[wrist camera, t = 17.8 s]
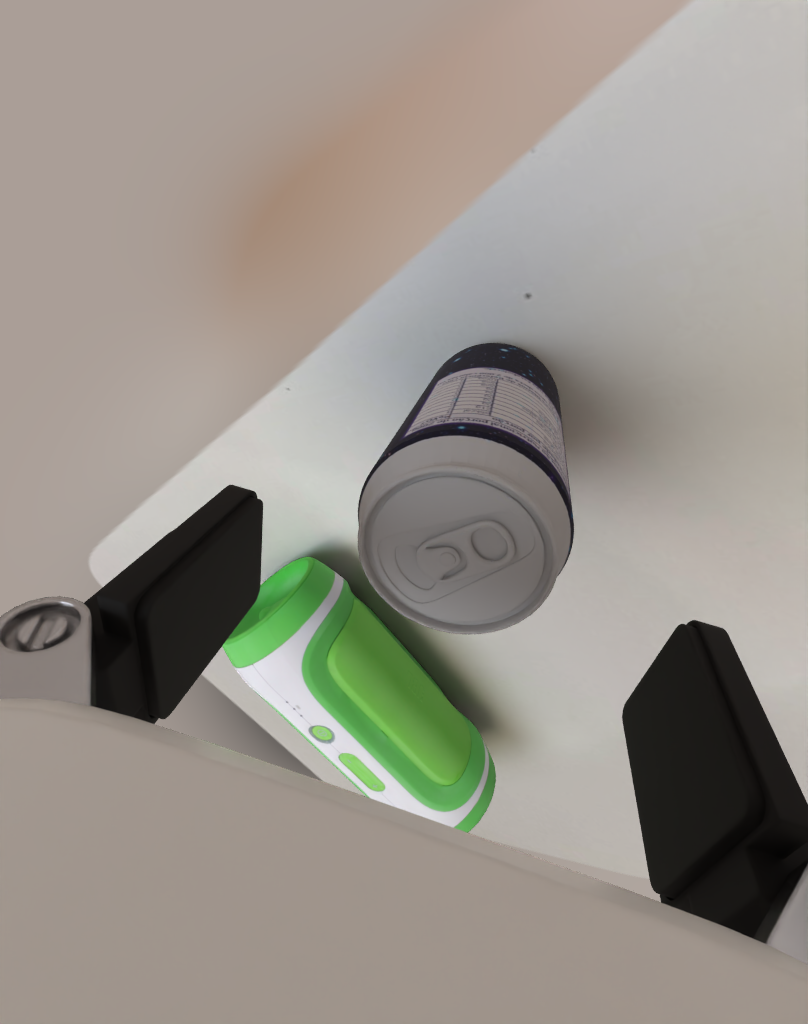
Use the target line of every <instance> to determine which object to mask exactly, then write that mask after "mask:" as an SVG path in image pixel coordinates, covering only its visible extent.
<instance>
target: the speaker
mask: <svg viewBox="0 0 808 1024" xmlns="http://www.w3.org/2000/svg"><path fill="white" fill-rule="evenodd" d="M222 646H223V648H224V650H225V652H226V654H227V656H228V657H229V659H230V661H231V663H232V664H233V666H234V668H235V669H236V671H237V672H238V674H239V675H240V676H241V678H242V679H243V680H244V681H245V682H246V683H247V684H248V685H249V686H250V687H251V688H252V689H253V690H254V691H255V692H256V693H257V694H258V695H259V696H260V697H262V698H263V699H264V700H265V701H266V702H267V703H268V704H269V705H270V706H271V707H272V708H274V709H275V710H276V711H277V712H278V713H279V714H280V715H281V716H282V717H283V718H284V719H285V720H286V721H287V722H288V723H290V724H291V725H292V726H293V727H294V728H295V729H296V730H297V731H298V732H299V733H300V734H301V735H302V736H303V737H304V738H305V739H306V740H307V741H308V742H309V743H311V744H312V745H313V746H314V747H315V748H316V749H317V750H318V751H319V752H320V753H321V754H322V755H323V756H324V757H325V758H327V759H328V760H329V761H330V762H331V763H332V764H333V765H334V766H335V767H336V768H337V769H338V770H339V771H340V772H341V773H342V774H343V775H344V776H345V777H346V778H348V779H349V780H350V781H351V782H352V783H353V784H354V785H355V786H356V787H357V788H358V789H359V790H360V791H361V792H362V793H364V794H365V795H366V796H367V797H368V798H371V799H374V800H376V801H379V802H382V803H385V804H388V805H391V806H394V807H396V808H399V809H402V810H405V811H408V812H411V813H413V814H416V815H419V816H422V817H425V818H428V819H430V820H433V821H436V822H439V823H442V824H444V825H447V826H450V827H453V828H456V829H459V830H461V831H464V832H467V833H468V832H469V831H470V830H471V829H472V828H473V827H474V826H475V825H476V824H477V823H478V822H479V821H480V819H481V818H482V816H483V815H484V813H485V812H486V810H487V808H488V806H489V804H490V802H491V799H492V796H493V793H494V788H495V782H496V774H495V767H494V763H493V761H492V758H491V756H490V753H489V751H488V749H487V747H486V745H485V743H484V741H483V739H482V737H481V735H480V733H479V732H478V730H477V729H476V727H475V726H474V725H473V724H472V723H471V722H470V721H469V720H468V719H467V718H466V717H465V716H464V715H463V714H461V713H460V712H459V711H458V710H457V709H455V708H454V706H453V705H452V704H451V703H450V702H449V701H448V700H447V698H446V697H445V695H444V694H443V692H442V691H441V689H440V688H439V687H438V685H437V684H436V683H435V681H434V680H433V679H432V678H431V677H430V676H429V675H428V673H427V672H426V671H425V670H424V669H423V668H422V667H421V665H420V664H419V663H418V662H417V661H416V660H415V659H414V657H413V656H412V655H411V654H410V653H409V652H408V651H407V649H406V648H405V647H404V646H403V645H402V644H401V643H400V642H399V640H398V639H397V638H396V637H395V636H394V635H393V634H392V633H391V631H390V630H389V629H388V628H387V627H386V626H385V625H384V624H383V622H382V621H381V620H380V619H379V618H378V617H377V616H376V615H375V613H374V612H373V611H372V610H371V609H370V608H369V607H367V606H366V605H365V604H364V603H363V602H362V601H360V600H359V599H358V598H357V597H356V596H355V595H354V594H353V593H352V592H351V590H350V587H349V585H348V582H347V581H346V580H345V579H343V578H342V577H341V576H340V575H338V574H337V573H336V572H335V571H333V570H332V569H330V568H329V567H327V566H326V565H324V564H323V563H321V562H320V561H318V560H316V559H315V558H312V557H303V558H300V559H297V560H295V561H293V562H291V563H289V564H288V565H286V566H285V567H283V568H282V569H280V570H279V571H278V572H276V573H275V574H274V575H272V576H271V577H270V578H269V579H267V580H266V581H265V582H264V583H263V584H262V585H260V592H259V595H258V598H257V600H256V602H255V603H254V605H253V606H252V607H251V609H250V610H249V611H248V613H247V614H246V615H245V616H244V618H243V619H242V620H241V622H240V623H239V624H238V626H237V627H236V628H235V630H234V631H233V632H232V634H231V635H230V636H229V638H228V639H227V640H226V642H225V643H224V644H223V645H222Z"/></svg>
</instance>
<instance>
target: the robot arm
mask: <svg viewBox="0 0 808 1024" xmlns="http://www.w3.org/2000/svg"><path fill="white" fill-rule="evenodd" d="M262 520H263V502H262V501H261V500H260V499H257V495H256V493H255V492H254V491H251V490H248V489H245V488H241V487H238V486H234V485H229V486H227V487H226V488H224V489H223V490H222V491H221V492H220V493H218V494H217V495H216V496H215V497H214V498H212V499H211V500H210V501H209V502H208V503H206V504H205V505H204V506H203V507H201V508H200V509H199V510H198V511H197V512H195V513H194V514H193V515H192V516H191V517H189V518H188V519H187V520H186V521H185V522H183V523H182V524H181V525H180V526H178V527H177V528H176V529H175V530H173V531H171V532H170V533H168V534H167V535H166V536H165V537H163V538H162V539H161V540H160V541H159V542H157V543H156V544H155V545H154V546H153V547H151V548H150V549H149V550H148V551H146V552H145V553H144V554H143V555H142V556H140V557H139V558H138V559H137V560H136V561H134V562H133V563H132V564H131V565H129V566H128V567H127V568H126V569H125V570H123V571H122V572H121V573H120V574H119V575H117V576H116V577H115V578H114V579H112V580H111V581H110V582H109V583H108V584H106V585H105V586H104V587H103V588H102V589H100V590H99V591H98V592H97V593H96V594H95V595H93V596H92V597H91V598H90V599H88V600H87V601H86V602H85V603H83V602H81V601H78V600H76V599H74V598H68V597H60V596H59V597H45V598H40V599H36V600H32V601H28V602H26V603H24V604H21V605H19V606H16V607H14V608H13V609H11V610H10V611H8V612H6V613H5V614H3V615H2V616H1V617H0V1024H808V804H807V802H806V800H805V797H804V795H803V793H802V791H801V789H800V787H799V785H798V783H797V780H796V778H795V776H794V774H793V772H792V770H791V768H790V765H789V763H788V761H787V759H786V757H785V755H784V753H783V751H782V748H781V746H780V744H779V742H778V740H777V738H776V736H775V733H774V731H773V729H772V727H771V725H770V723H769V721H768V719H767V716H766V714H765V712H764V710H763V708H762V706H761V704H760V701H759V699H758V697H757V695H756V693H755V691H754V689H753V687H752V684H751V682H750V680H749V678H748V676H747V674H746V672H745V669H744V667H743V665H742V663H741V661H740V659H739V657H738V655H737V652H736V650H735V648H734V646H733V644H732V642H731V640H730V637H729V635H728V633H727V632H726V631H725V630H724V629H723V628H720V627H717V626H713V625H710V624H706V623H703V622H699V621H696V620H692V621H690V622H689V623H688V624H687V625H685V624H680V625H679V626H678V627H677V628H676V629H675V631H674V632H673V634H672V635H671V637H670V638H669V639H668V641H667V642H666V644H665V645H664V647H663V648H662V650H661V651H660V653H659V654H658V656H657V657H656V659H655V660H654V662H653V663H652V665H651V666H650V668H649V669H648V671H647V672H646V674H645V675H644V676H643V678H642V679H641V681H640V682H639V684H638V685H637V687H636V688H635V690H634V691H633V693H632V694H631V696H630V697H629V699H628V700H627V702H626V703H625V706H624V709H623V715H622V719H623V726H624V732H625V738H626V744H627V749H628V755H629V761H630V767H631V773H632V778H633V784H634V790H635V796H636V802H637V808H638V813H639V819H640V825H641V831H642V837H643V842H644V848H645V854H646V860H647V866H648V872H649V877H650V882H651V886H652V888H653V890H654V891H655V892H656V893H658V894H660V898H661V902H658V901H655V900H653V899H650V898H648V897H645V896H642V895H640V894H637V893H634V892H632V891H629V890H626V889H623V888H620V887H618V886H615V885H612V884H609V883H607V882H604V881H601V880H598V879H596V878H593V877H590V876H587V875H584V874H581V873H579V872H576V871H573V870H570V869H568V868H565V867H562V866H559V865H557V864H554V863H551V862H548V861H545V860H543V859H540V858H537V857H534V856H531V855H528V854H526V853H523V852H520V851H517V850H515V849H512V848H509V847H506V846H504V845H500V844H498V843H495V842H492V841H490V840H487V839H484V838H481V837H478V836H476V835H473V834H470V833H467V832H464V831H461V830H459V829H456V828H453V827H450V826H447V825H444V824H442V823H439V822H436V821H433V820H430V819H428V818H425V817H422V816H419V815H416V814H413V813H411V812H408V811H405V810H402V809H399V808H396V807H394V806H391V805H388V804H385V803H382V802H379V801H376V800H374V799H371V798H368V797H365V796H362V795H359V794H357V793H354V792H351V791H348V790H345V789H342V788H340V787H337V786H334V785H331V784H328V783H325V782H322V781H320V780H316V779H314V778H311V777H308V776H305V775H302V774H299V773H296V772H294V771H290V770H287V769H285V768H282V767H279V766H276V765H273V764H270V763H268V762H265V761H262V760H259V759H256V758H253V757H250V756H247V755H245V754H242V753H239V752H236V751H233V750H230V749H227V748H224V747H221V746H219V745H216V744H213V743H210V742H207V741H204V740H201V739H198V738H195V737H192V736H189V735H185V734H183V733H179V732H176V731H173V730H170V729H167V728H164V727H161V726H158V725H155V722H156V721H157V720H158V718H160V719H165V718H167V717H168V716H169V715H170V714H171V713H172V711H173V710H174V709H175V708H176V706H177V705H178V704H179V702H180V701H181V699H182V698H183V697H184V696H185V694H186V693H187V692H188V690H189V689H190V688H191V686H192V685H193V684H194V682H195V681H196V680H197V678H198V677H199V676H200V675H201V673H202V672H203V671H204V669H205V668H206V667H207V665H208V664H209V663H210V661H211V660H212V659H213V657H214V656H215V655H216V653H217V652H218V651H219V649H220V648H221V647H222V645H223V644H224V643H225V642H226V640H227V639H228V638H229V636H230V635H231V634H232V632H233V631H234V630H235V628H236V627H237V626H238V624H239V623H240V622H241V620H242V619H243V618H244V616H245V615H246V614H247V613H248V611H249V610H250V609H251V607H252V606H253V605H254V603H255V602H256V600H257V598H258V595H259V592H260V579H261V550H262Z"/></svg>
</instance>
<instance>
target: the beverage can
mask: <svg viewBox="0 0 808 1024" xmlns="http://www.w3.org/2000/svg"><path fill="white" fill-rule="evenodd" d="M358 521H359V531H358V551H359V557H360V561H361V564H362V567H363V570H364V573H365V574H366V576H367V578H368V580H369V582H370V584H371V585H372V586H373V588H374V589H375V590H376V592H377V593H378V594H379V595H380V596H381V597H382V598H383V599H384V600H385V601H386V603H387V604H389V605H390V606H391V607H392V608H394V609H395V610H396V611H397V612H399V613H400V614H402V615H404V616H405V617H407V618H409V619H410V620H412V621H414V622H417V623H419V624H421V625H423V626H426V627H429V628H432V629H435V630H439V631H443V632H448V633H456V634H482V633H489V632H495V631H498V630H502V629H505V628H508V627H510V626H512V625H515V624H517V623H519V622H521V621H522V620H524V619H525V618H527V617H528V616H530V615H531V614H532V613H533V612H535V611H536V610H537V609H538V608H539V607H540V606H541V605H542V603H543V602H544V601H545V600H546V598H547V597H548V595H549V594H550V592H551V590H552V588H553V586H554V583H555V581H556V578H557V576H558V575H559V574H560V572H561V571H562V569H563V568H564V566H565V564H566V562H567V560H568V557H569V555H570V551H571V548H572V543H573V536H574V522H573V513H572V505H571V496H570V488H569V479H568V471H567V462H566V454H565V445H564V437H563V428H562V420H561V411H560V403H559V395H558V391H557V387H556V385H555V382H554V380H553V378H552V376H551V374H550V373H549V371H548V370H547V368H546V367H545V366H544V365H543V364H542V363H541V362H540V361H539V360H538V359H537V358H536V357H534V356H533V355H531V354H530V353H528V352H526V351H525V350H522V349H520V348H518V347H515V346H511V345H507V344H500V343H486V344H480V345H475V346H472V347H469V348H467V349H464V350H462V351H460V352H459V353H457V354H455V355H454V356H453V357H451V358H450V359H449V360H448V361H447V362H445V363H444V364H443V366H442V367H441V368H440V369H439V370H438V372H437V373H436V375H435V376H434V378H433V379H432V381H431V382H430V384H429V385H428V387H427V388H426V390H425V391H424V393H423V394H422V396H421V397H420V399H419V400H418V402H417V403H416V405H415V406H414V408H413V409H412V411H411V412H410V414H409V415H408V417H407V418H406V420H405V421H404V423H403V424H402V426H401V427H400V429H399V430H398V432H397V433H396V435H395V436H394V438H393V439H392V441H391V442H390V444H389V445H388V447H387V448H386V450H385V451H384V452H383V454H382V455H381V457H380V458H379V460H378V461H377V463H376V464H375V466H374V467H373V469H372V470H371V472H370V474H369V475H368V477H367V479H366V481H365V483H364V486H363V488H362V491H361V495H360V500H359V507H358Z"/></svg>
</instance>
